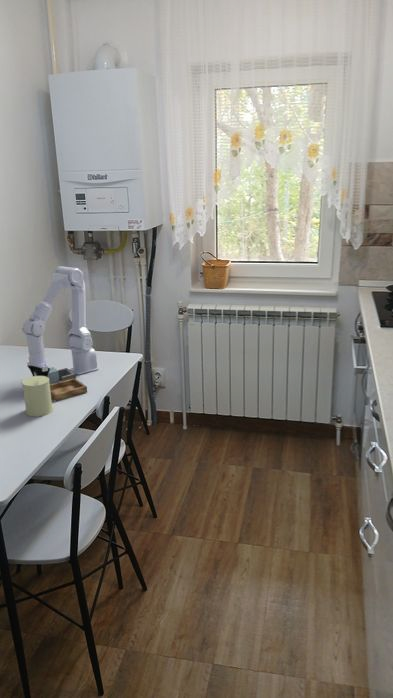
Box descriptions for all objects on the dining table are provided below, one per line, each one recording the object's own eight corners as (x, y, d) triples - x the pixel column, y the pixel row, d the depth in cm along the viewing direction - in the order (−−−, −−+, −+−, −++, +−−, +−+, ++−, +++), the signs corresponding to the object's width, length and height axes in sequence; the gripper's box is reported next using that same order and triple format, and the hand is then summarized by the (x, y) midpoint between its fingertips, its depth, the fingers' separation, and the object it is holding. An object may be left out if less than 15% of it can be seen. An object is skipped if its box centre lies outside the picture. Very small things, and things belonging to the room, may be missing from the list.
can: (28, 418, 187) (24, 386, 183) (23, 408, 194) (19, 377, 190) (55, 412, 191) (52, 381, 187) (49, 403, 198) (45, 372, 194)
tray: (75, 384, 215) (74, 378, 214) (87, 392, 207) (86, 386, 206) (44, 392, 208) (43, 386, 207) (55, 401, 200) (55, 395, 199)
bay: (67, 375, 223) (66, 367, 222) (76, 382, 216) (75, 374, 215) (54, 379, 220) (53, 371, 219) (63, 385, 213) (62, 377, 212)
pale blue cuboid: (54, 381, 218) (53, 367, 216) (59, 384, 214) (58, 370, 212) (35, 386, 214) (33, 371, 212) (40, 390, 210) (38, 375, 208)
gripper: (19, 347, 211) (23, 380, 215) (33, 357, 200) (37, 391, 204) (36, 344, 215) (40, 376, 219) (51, 353, 204) (55, 387, 208)
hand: (40, 383), depth 212 cm, fingers closed on pale blue cuboid, 5 cm apart
